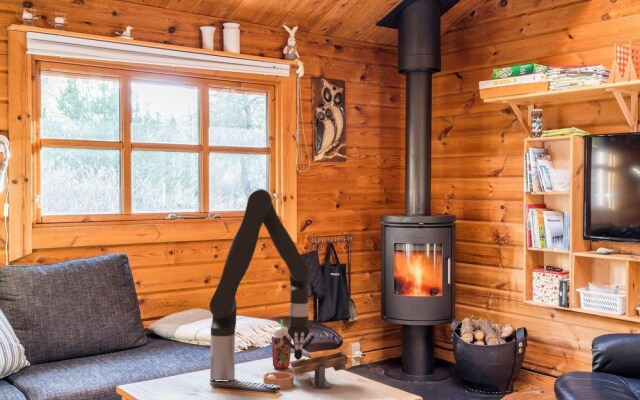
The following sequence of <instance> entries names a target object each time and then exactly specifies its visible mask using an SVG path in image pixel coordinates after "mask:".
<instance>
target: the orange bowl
mask: <svg viewBox="0 0 640 400" xmlns="http://www.w3.org/2000/svg"><path fill="white" fill-rule="evenodd" d="M271 374H273V375H275V376H276V379H272V378H268V376H269V375H271ZM294 379H295V376H294V374H293V373H290V372H285V371H272V372H268V373H264V374H263V381H262V382H263V383H265V384H274V385H280V389H279V390H284V389H289V388H292V387H293V386H294V384H295V383H294ZM263 383H262V384H263Z"/></svg>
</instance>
